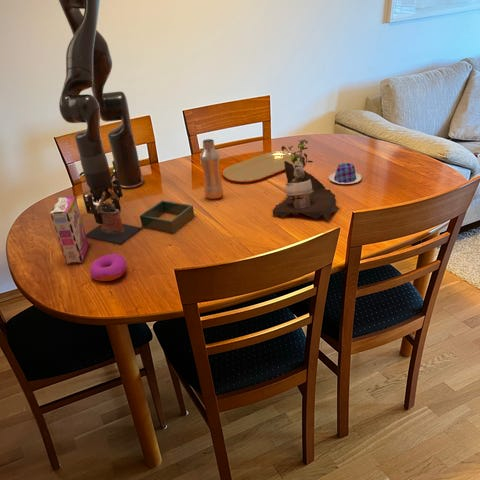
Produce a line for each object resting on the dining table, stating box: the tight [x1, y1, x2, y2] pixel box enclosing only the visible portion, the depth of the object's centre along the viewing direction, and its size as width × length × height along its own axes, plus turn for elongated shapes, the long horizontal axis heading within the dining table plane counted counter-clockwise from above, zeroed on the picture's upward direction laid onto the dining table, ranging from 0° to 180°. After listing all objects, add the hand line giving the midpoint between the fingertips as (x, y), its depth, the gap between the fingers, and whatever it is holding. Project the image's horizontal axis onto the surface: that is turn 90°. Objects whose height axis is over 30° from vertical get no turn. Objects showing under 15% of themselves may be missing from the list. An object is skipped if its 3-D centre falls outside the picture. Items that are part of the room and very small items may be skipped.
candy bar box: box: [49, 195, 90, 265], centre depth 135 cm, size 11×5×16 cm, turn 5°
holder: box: [139, 199, 195, 234], centre depth 152 cm, size 13×13×4 cm
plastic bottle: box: [199, 138, 224, 200], centre depth 160 cm, size 6×7×20 cm
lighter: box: [96, 201, 125, 234], centre depth 146 cm, size 8×3×10 cm, turn 71°
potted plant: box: [272, 138, 339, 221], centre depth 151 cm, size 20×19×25 cm
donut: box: [89, 253, 128, 282], centre depth 129 cm, size 10×10×5 cm
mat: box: [86, 223, 143, 246], centre depth 150 cm, size 15×11×1 cm
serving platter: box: [222, 151, 300, 184], centre depth 184 cm, size 19×35×2 cm, turn 128°
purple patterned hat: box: [328, 162, 363, 185], centre depth 169 cm, size 12×12×5 cm
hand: (109, 217), depth 146 cm, fingers open, 8 cm apart
